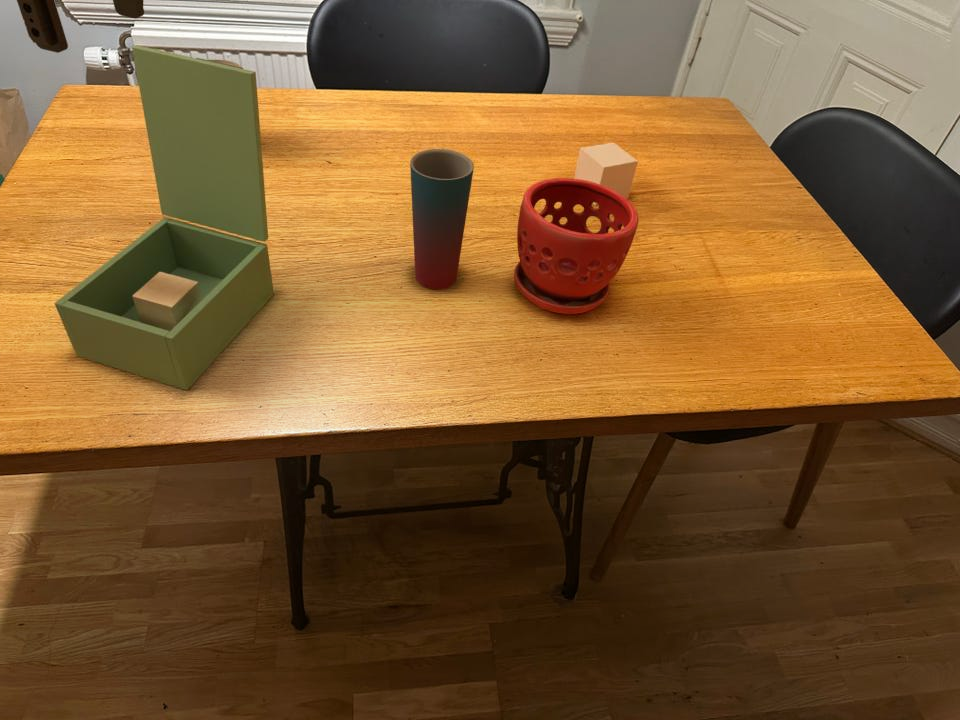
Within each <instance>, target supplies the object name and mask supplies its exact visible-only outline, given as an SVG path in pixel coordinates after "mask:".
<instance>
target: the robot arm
mask: <svg viewBox="0 0 960 720" xmlns="http://www.w3.org/2000/svg"><path fill="white" fill-rule="evenodd" d="M16 2H17V5H18V8H19V11H20V14H21V17H22V20H23V21H24V22H23V23H24V26H25V29H26V31H27V35H28V37H29V38H30V40H31V41H32V43H34V44H35V45H36V46H37V47H38V48H39V49H41V50H44V51H49V52H52V53H56V54H58V53H59V54H60V53H61V52H64V51H66V50H68V48H69V43H68V41H67V37H66V33H65V31H64V27H63V24H62V20H61V17H60V14H59V11H58V7H57V4H56V1H55V0H16ZM112 3H113V7H114V10H115V12H116V13H117V14H118V15H120V16H122V17H127V18H131V19H135V20H136V19H138V18H140V17H143V16H144V14H145V8H144V0H112Z"/></svg>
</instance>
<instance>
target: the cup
mask: <svg viewBox="0 0 960 720" xmlns="http://www.w3.org/2000/svg"><path fill="white" fill-rule="evenodd" d="M409 169H410V191H411V193H410V194H411V215H412V237H413V256H414V258H413V259H414V277H415V281H416V282H417V283H418V284H419V285H421V287H424V288H426V289H428V290H429V289H430V290H445V289H448V288H451V287H452V286H453V285H455V283H456V282H457V278H458V272H459V271H458V270H459V265H460V258H461V253H462V247H463V241H464V240H463V239H464V233H465V226H466V219H467V213H468V207H469V201H470V196H471V195H470V194H471V190H472V183H473V176H474V170H475V166H474V163H473V161H472V159H471V158H470V157H469V156H467V155H465V154H463V153H462V152H459V151H455V150H451V149H445V148H444V149H443V148H431V149H426V150H422V151H420V152H417V153H416V154H414V155H413V156H412V157H411V159H410V163H409Z"/></svg>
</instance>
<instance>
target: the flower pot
mask: <svg viewBox="0 0 960 720" xmlns="http://www.w3.org/2000/svg"><path fill="white" fill-rule="evenodd" d="M542 200H544V201H545V206H544V208H543V209H542V210H541V211H540V212H538V211H537V210H536V209H535V207H536V205H537V203H538V202H539V201H542ZM593 202H595V203H597V204H598V205H597V206H598V207H597V208H594V207H593ZM557 203H561V205H560V206H559V207H558V208H556V207H555V205H556V204H557ZM578 205H579V206H581V207H582V208H583V210H582V211H581V212H576V211H575V210H574V208H575V206H578ZM611 215H612V216H613V220H611V218H610V216H611ZM547 216H551V217H552V218H551V221H548V220H547V219H545V218H546V217H547ZM590 217H595V218H597V219H598V220H599V222H600V228H599V230H598V231H597V232H594V231H593V232H592V230H590V229H589V227H588V226H587V221H588V219H589V218H590ZM562 218H566V222H565V223H563V224H562V223H561V222H560V221H561V219H562ZM639 220H640V219H639V214H638V211H637V209H636V207H635V206H634V205H633V204H632V203H631V201H630V200H629V199H628V198H627V199H626V198H625V197H624V196H622V195H621V194H619V193H618V192H616V191H614V190H612V189H610V188H608V187H605V186H603V185H600V184H597V183H594V182H590V181H586V180H581V179H574V178H570V177H555V178H554V177H553V178H548V179H543V180H540V181H538V182H535V183H533V184H532V185H530V186H529V187H528V188H527V189H526V190H525V192H524V194H523V197H522V200H521V204H520V209H519V213H518V220H517V230H516V231H517V232H516V233H517V235H516V241H517V244H516V245H517V253H518V254H517V255H518V258H519V261H518V262H517V264H516V265H515V268H514V272H513V277H514V278H513V279H514V283H515V285H516V288H517V289H518V290H519V292H520V293H521V295H523V296H524V297H525V298H526V299H527V300H528V301H529V302H530V303H532V304H534V305H535V306H537V307H539V308H541V309H544V310H546V311H549V312H552V313H556V314H557V313H558V314H564V315H566V314H567V315H575V314H582V313H586V312H589V311H591V310H594V309H596V308H598V307H599V306H600V305H602V304H603V303H604V301H605V300H606V299H607V298H608V296H609V294H610V291H611V288H610V287H611V284H610V283H611V282H612V280H613V279H614V278H615V277H616V275H617V274H618V273H619V271H620V269H621V267H622V266H623V264H624V262H625V260H626V258H627V256H628V255H629V254H628V253H629V251H630V249H631V247H632V244H633V242H634V239H635V235H636V232H637V229H638V226H639ZM622 227H623V228H622ZM610 228H611V229H612V230H613V232H612V231H611V232H609V230H610Z"/></svg>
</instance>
